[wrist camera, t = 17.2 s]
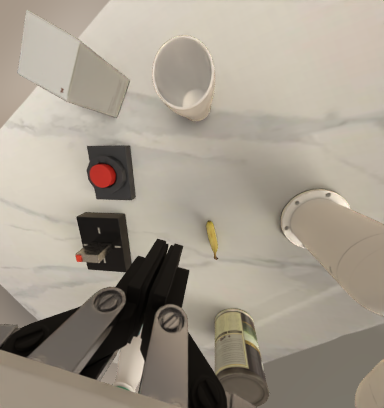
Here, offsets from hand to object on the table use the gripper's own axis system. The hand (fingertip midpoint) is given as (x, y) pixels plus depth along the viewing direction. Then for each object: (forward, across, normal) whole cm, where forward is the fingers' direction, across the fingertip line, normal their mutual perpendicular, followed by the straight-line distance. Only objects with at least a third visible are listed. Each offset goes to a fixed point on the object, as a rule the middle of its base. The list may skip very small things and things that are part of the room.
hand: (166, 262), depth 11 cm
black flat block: (+27, +18, +20) cm, 38 cm away
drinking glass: (+27, +4, -14) cm, 31 cm away
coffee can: (+27, -18, +34) cm, 47 cm away
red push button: (+23, +18, +3) cm, 30 cm away
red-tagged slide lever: (+24, +18, +20) cm, 36 cm away
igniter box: (+27, +18, +3) cm, 33 cm away
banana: (+27, -6, +11) cm, 30 cm away
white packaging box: (+27, +22, -13) cm, 37 cm away
